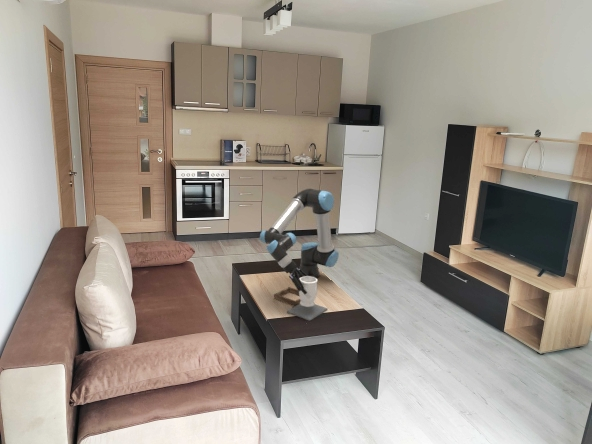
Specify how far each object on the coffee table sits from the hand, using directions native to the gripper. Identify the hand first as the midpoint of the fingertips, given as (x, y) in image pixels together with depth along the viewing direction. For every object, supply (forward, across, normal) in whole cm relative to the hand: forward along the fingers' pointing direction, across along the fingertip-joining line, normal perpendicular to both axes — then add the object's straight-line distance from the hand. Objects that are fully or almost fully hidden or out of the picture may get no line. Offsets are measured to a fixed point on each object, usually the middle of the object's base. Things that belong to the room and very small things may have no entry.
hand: (312, 294), depth 258 cm
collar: (-3, -14, -19) cm, 24 cm away
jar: (+3, 0, -7) cm, 7 cm away
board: (+6, 0, -10) cm, 12 cm away
